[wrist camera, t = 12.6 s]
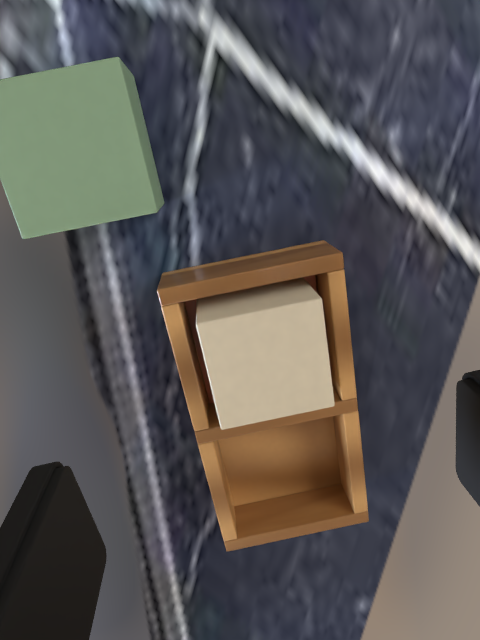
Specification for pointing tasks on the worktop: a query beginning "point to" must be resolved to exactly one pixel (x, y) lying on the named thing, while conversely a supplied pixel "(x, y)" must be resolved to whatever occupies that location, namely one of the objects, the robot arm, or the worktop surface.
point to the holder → (281, 433)
